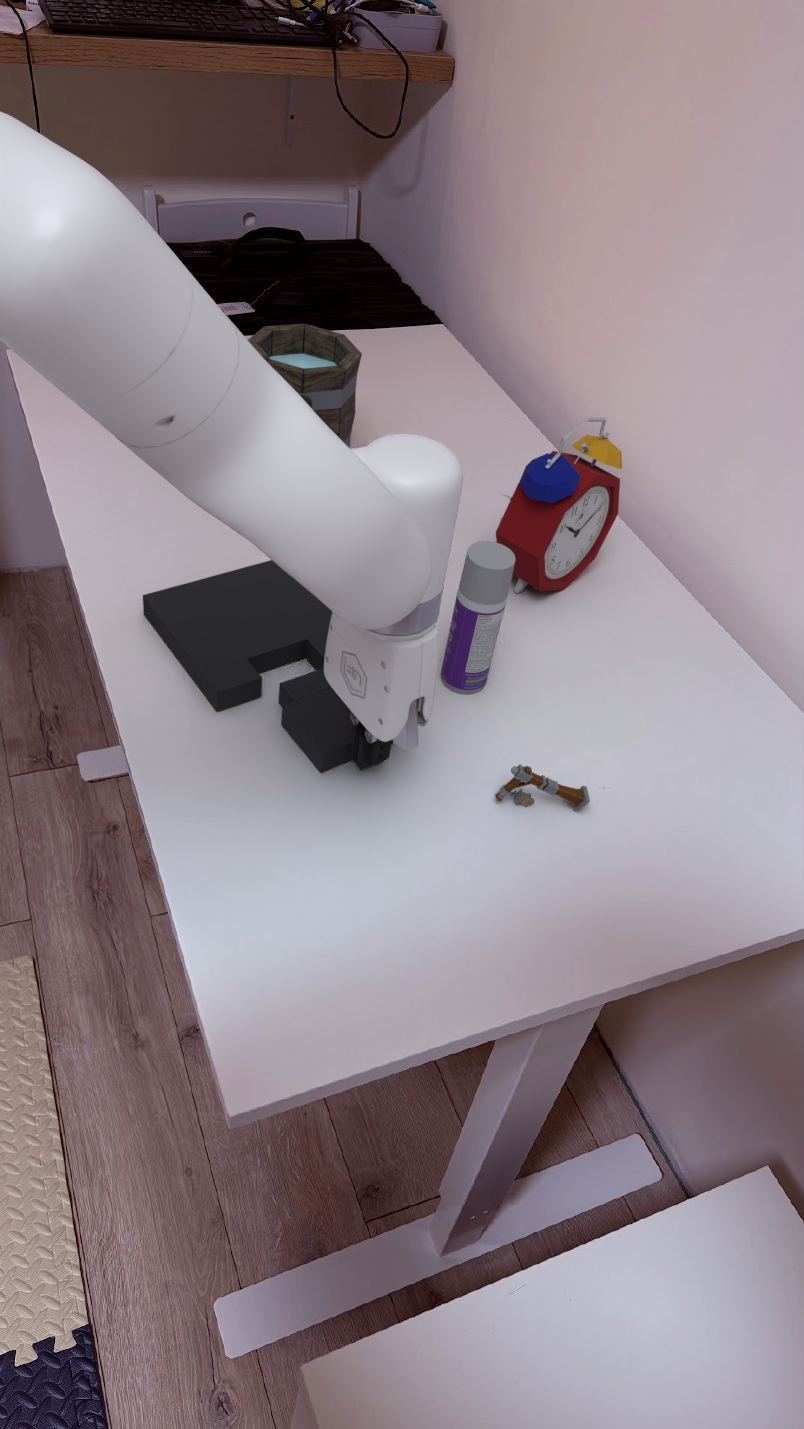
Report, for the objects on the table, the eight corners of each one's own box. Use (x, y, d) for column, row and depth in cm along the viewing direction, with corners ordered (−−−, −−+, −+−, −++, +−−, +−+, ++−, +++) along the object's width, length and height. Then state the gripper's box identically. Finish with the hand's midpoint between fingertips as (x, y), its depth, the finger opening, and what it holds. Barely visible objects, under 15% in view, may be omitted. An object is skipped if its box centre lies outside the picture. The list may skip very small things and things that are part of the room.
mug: (245, 431, 132) (248, 317, 121) (348, 440, 133) (360, 329, 123) (236, 514, 118) (238, 393, 107) (352, 523, 119) (365, 405, 109)
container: (432, 667, 102) (457, 544, 92) (472, 659, 104) (501, 537, 94) (453, 698, 99) (481, 573, 89) (494, 688, 101) (526, 565, 91)
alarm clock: (525, 615, 111) (569, 451, 97) (466, 577, 115) (500, 413, 101) (602, 568, 119) (652, 411, 106) (545, 534, 123) (586, 378, 110)
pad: (320, 773, 90) (322, 754, 88) (266, 706, 95) (267, 687, 93) (394, 743, 94) (397, 724, 92) (337, 681, 99) (340, 661, 97)
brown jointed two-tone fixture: (486, 786, 90) (515, 755, 87) (557, 813, 93) (588, 784, 91) (488, 801, 89) (518, 770, 86) (560, 828, 92) (591, 799, 89)
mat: (216, 712, 94) (216, 692, 92) (143, 614, 102) (142, 594, 101) (361, 662, 101) (363, 643, 100) (281, 575, 110) (282, 556, 108)
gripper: (301, 555, 80) (291, 720, 92) (406, 668, 72) (379, 832, 84) (380, 532, 83) (360, 694, 96) (489, 638, 75) (451, 800, 88)
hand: (369, 759), depth 90 cm, fingers closed
